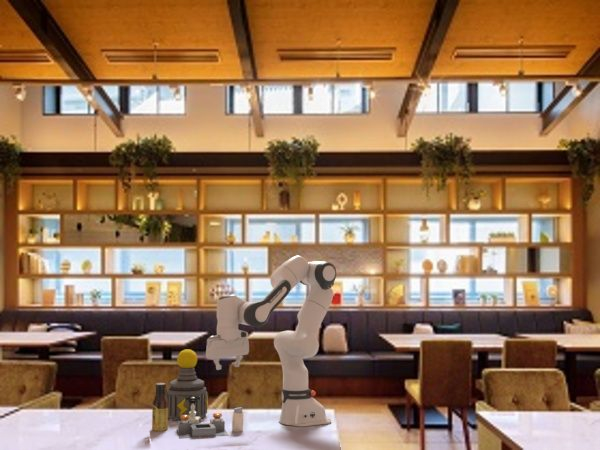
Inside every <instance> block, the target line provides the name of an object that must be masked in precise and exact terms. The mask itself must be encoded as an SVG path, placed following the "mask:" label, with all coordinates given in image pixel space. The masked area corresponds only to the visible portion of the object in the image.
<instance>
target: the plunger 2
mask: <svg viewBox="0 0 600 450" xmlns="http://www.w3.org/2000/svg"><path fill="white" fill-rule="evenodd" d="M222 416H223V413H221V412H213V414H212V418H213V419H214V421H221V419H222Z"/></svg>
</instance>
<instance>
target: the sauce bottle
mask: <svg viewBox="0 0 600 450" xmlns="http://www.w3.org/2000/svg"><path fill="white" fill-rule="evenodd" d="M166 387H167V384H166V383H165V382H157V383H155V395H154V399H153V401H152V404H151V405H152V409H151V410H152V411H151V412H152V415H151V416H152V417H151V418H152V419H151V420H152V421H151V430H152V431H154V432H164V431H167V430H168V429H169V428H168V427H169V418H168V399H167V397H166V395H165V394H166Z"/></svg>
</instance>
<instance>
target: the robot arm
mask: <svg viewBox="0 0 600 450" xmlns="http://www.w3.org/2000/svg"><path fill="white" fill-rule="evenodd" d="M336 277H337V270H336V266H335V265H334V264H333V263H332V262H328V261H325V260H323V261H321V260H314V261H308V260H307V258H305V257H303V256H301V255H293V256H292V257H290V258H289V259H287V260H285V262H283V263H281V265H279V266H278V267H277V268H276V269H275V270H274V271H273V272H272V273H271V275H270V278H269V279H270V286H271V287H272V289H271V290H270V292H268V293H267V294H266V295H265V296H264V297H263V298H262V299H261V300H259V301H254V302H253V301H247V300H244V299H242V298H241V297H238V296H237V294H235V293H231V294H230V293H229V294H224V295H221V296H220V297H219V298H218V299H217V303H216V319H217V323H216V324H217V325H216V335H211V336H209V337H208V338H207V339H206V350H205V358H206V359H207V360H213V363H214V365H215V369H216V371H219V370H222V364H220V359H225V358H232V357H233V358H234V357H235V358H236V360H235V362H233V364H234V365H233V366H234V367H235V368H238V367H240V362H241V361H242V358H243V356H247V355H249V352H250V343H249V342H250V341H249V339H248V337H249V332H247V331H245V330H241V329H239V325H240V324H241V325H245V326H250V327H253V328H261V327H263V326H264V325H266V324H267V323H268V321H269V319H270V316H271V315H272V314H273V312H274V311H275V309H276V308H278V307H279V305H280V304H281V303H282V302H283V301H284V300H285V298H287V296H288V295H289V293H290V292H291V291H292V290H293V289H294V288H295V287H296V286H297V285H298V284H299V283H300V284H302V285H304V286H309V287H310V290H309V294H308V295H307V297H306V299H305V301H304V302H303V304H302V306H301V307H300V309H299V311H298V313H297V316H296V317H297V320H298V324H297V327H296V329H295V330H289V329H288V330H284V331H280V332H278V333H277V334H276V335H275V336H274V339H273V347H274V349H275V350H276V351H277V354H278V356H279V360H280V364H281V369H282V388H281V402H282V405H281V412H280V417H279V420H278V422H279V423H280V424H282V425H286V426H287V425H288V426H295V427H309V426H318V425H319V426H320V425H326V424H331V423H332V419H331V417H329V416H327V414H326V409H325V407H324V405H322V404H321V403H320V402H319V401H317V400H316V399H315V398H314V396H316V393H317V392H316V391H315V390H313V389H310V388H309V370H308V368H307V367H306V365H305V363H304V359H308V358H312V357H314V356H316V355H317V353H318V352H319V349H320V348H319V347H320V344H319V343H320V342H319V341H318V334H319V330H320V327H321V324H322V323H323V320H324V318H325V317H326V315H327V313H328V311H329V308H330V306H331V303H332V301H333V297H334V290H333V289H332V287H333V286H334V284H335V281H336Z"/></svg>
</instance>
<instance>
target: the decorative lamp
mask: <svg viewBox="0 0 600 450" xmlns="http://www.w3.org/2000/svg"><path fill="white" fill-rule="evenodd" d="M176 359H177V360H176V361H177V364H178V366H179V372H178V374H177V375H178V376H177V378H176V379H173V380H171V381H170V382H169V383H168V384H169V387H168V388H167V390H166V391H165V395H166V397H167V399H168V420H171V419H172V420H171V421H177V420H178V421H182V419H180V416H181V415H189V412H191V406H192V404H191V403H189V401H188V399H187V400H186V399H185V397H189V396H196V397H198V396H200V400H198V401H197V402H196V403H194V406H195V409H194V410H195V412H196V415H195V416H197V417H201V418H202V419H204V418H205V417H206V416H207V414H208V407H209V402H208V401H209V400H208V399H209V398H208V397H209V393H208V391H207V387H206V386H205V381H204V380H202V379H200V378H198V376H197V373H196V371H195V370H196V369H195V367H196V365H197V363H198V355H197V353H196V352H195V351H194V350H192V349H189V348H188V349H186V348H185V349H183V350H181V351H180V352H179V354H178V355H177V357H176ZM178 421H177V422H178Z"/></svg>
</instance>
